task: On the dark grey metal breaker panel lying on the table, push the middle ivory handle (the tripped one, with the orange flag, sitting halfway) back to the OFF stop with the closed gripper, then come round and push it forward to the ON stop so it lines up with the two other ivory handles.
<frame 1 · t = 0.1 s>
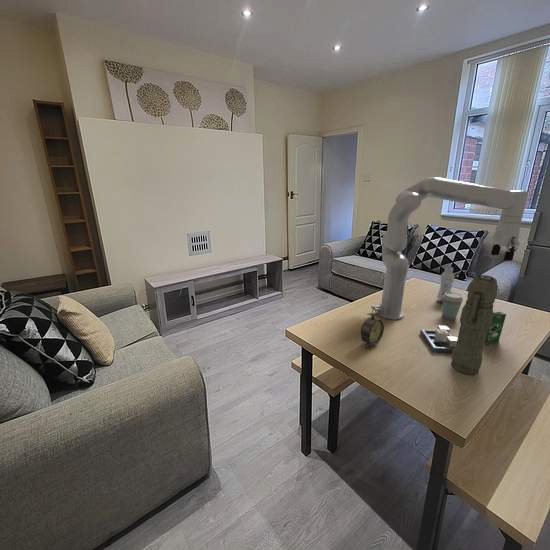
hand: (501, 257, 132), 31 cm above the table, fingers open, 9 cm apart
thermos: (464, 368, 106), on the table
coffee cup: (448, 317, 144), on the table
tripped breaker: (441, 335, 120), point 4 cm above the table, slide at 2.5 cm
plastic bottle: (442, 301, 162), on the table
alarm clock: (370, 344, 121), on the table
coffee box: (488, 342, 122), on the table
panel: (439, 343, 121), on the table
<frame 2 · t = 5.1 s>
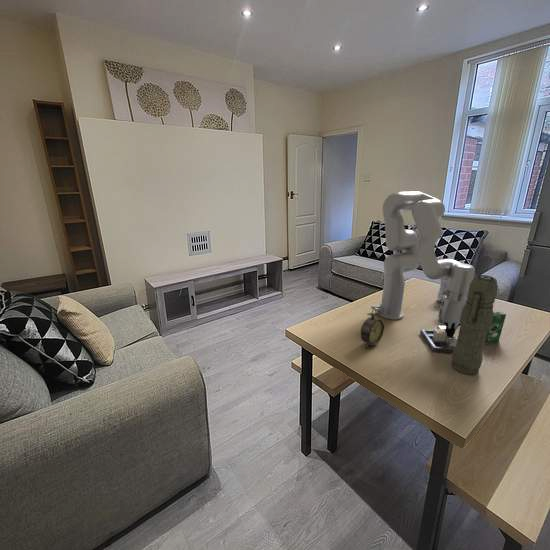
hand: (449, 335, 120), 4 cm above the table, fingers closed
tripped breaker: (439, 335, 120), point 4 cm above the table, slide at 1.8 cm, touching gripper
everything else where it was.
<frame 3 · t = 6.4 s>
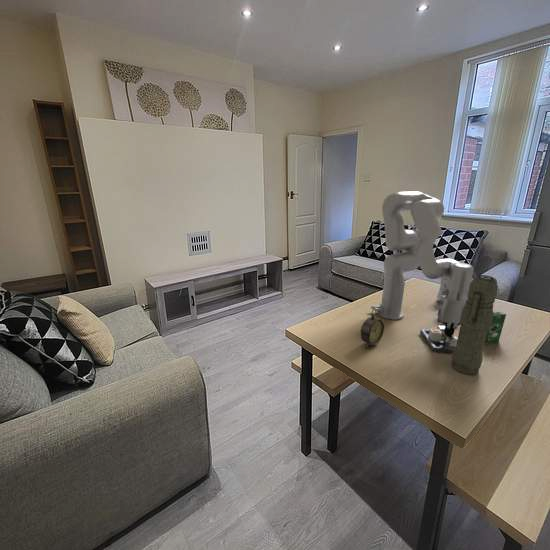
hand: (448, 335, 120), 4 cm above the table, fingers closed
tripped breaker: (434, 335, 120), point 4 cm above the table, slide at 0.0 cm
everything else where it was.
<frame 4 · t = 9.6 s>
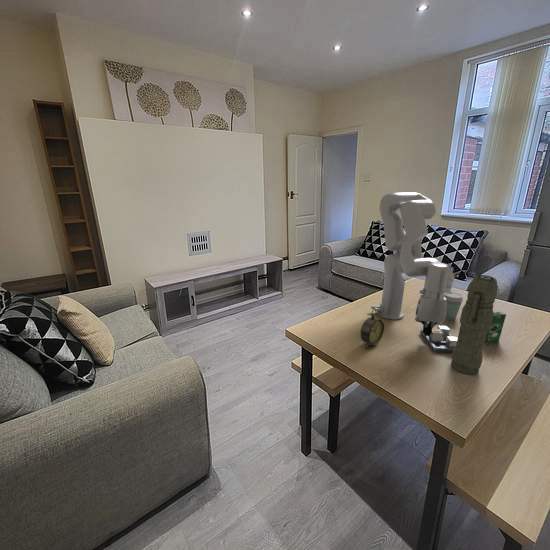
hand: (426, 334, 121), 4 cm above the table, fingers closed
tripped breaker: (435, 335, 120), point 4 cm above the table, slide at 0.2 cm, touching gripper
everything else where it was.
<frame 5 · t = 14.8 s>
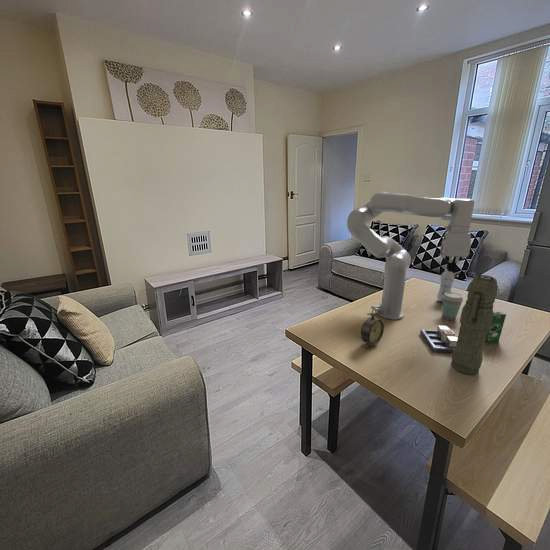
hand: (450, 270, 127), 27 cm above the table, fingers closed
tripped breaker: (448, 336, 120), point 4 cm above the table, slide at 5.0 cm
everything else where it was.
at the end: tripped breaker slide at 5.0 cm; the gripper is holding nothing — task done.
